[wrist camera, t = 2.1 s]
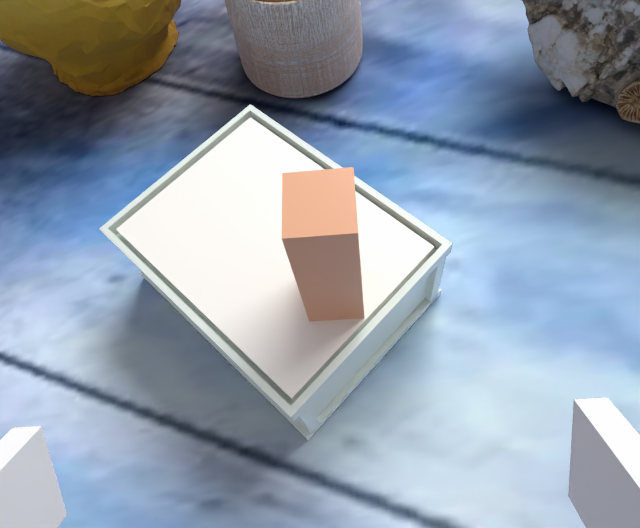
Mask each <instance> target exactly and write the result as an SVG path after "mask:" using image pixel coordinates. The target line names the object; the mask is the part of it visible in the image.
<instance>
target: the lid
mask: <svg viewBox="0 0 640 528" xmlns="http://www.w3.org/2000/svg"><path fill="white" fill-rule="evenodd" d="M116 230H117V231H118V232H119V233H120V235H121V236H122V237H123V238H124V239H125V240H126V241H128V242H129V243H130V244H131V245H132V246H133V247H134V248H135V249H136V250H137V251H138V252H139V253H140V254H141V255H142V256H143V257H144V258H145V259H146V260H147V261H148V262H149V263H150V264H151V265H152V266H153V267H154V268H155V269H156V270H158V271H159V272H160V273H161V274H162V275H163V276H164V277H165V278H166V279H167V280H168V281H169V282H170V283H171V284H172V285H173V286H174V287H175V288H176V289H177V290H178V291H179V292H180V293H181V294H182V295H183V296H184V297H185V298H187V299H188V300H189V301H190V302H191V303H192V304H193V305H194V306H195V307H196V308H197V309H198V310H199V311H200V312H201V313H202V314H203V315H204V316H205V317H206V318H207V319H208V320H209V321H210V322H211V323H212V324H213V325H214V326H216V327H217V328H218V329H219V330H220V331H221V332H222V333H223V334H224V335H225V336H226V337H227V338H228V339H229V340H230V341H231V342H232V343H233V344H234V345H235V346H236V347H237V348H238V349H239V350H240V351H241V352H242V353H243V354H245V355H246V356H247V357H248V358H249V359H250V360H251V361H252V362H253V363H254V364H255V365H256V366H257V367H258V368H259V369H260V370H261V371H262V372H263V373H264V374H265V375H266V376H267V377H268V378H269V379H270V380H271V381H272V382H274V383H275V384H276V385H277V386H278V387H279V388H280V389H281V390H282V391H283V392H284V393H285V394H286V395H287V396H288V397H289V398H290V399H291V400H292V401H293V402H294V401H295V400H296V399H297V398H298V397H299V396H300V395H301V394H302V393H303V392H304V391H305V390H306V389H307V388H308V386H309V385H310V384H311V383H312V382H313V381H314V380H315V379H316V378H317V377H318V376H319V375H320V374H321V373H322V372H323V370H324V369H325V368H326V367H327V366H328V365H329V364H330V363H331V362H332V361H333V360H334V359H335V358H336V357H337V356H338V354H339V353H340V352H341V351H342V350H343V349H344V348H345V347H346V346H347V345H348V344H349V343H350V342H351V341H352V339H353V338H354V337H355V336H356V335H357V334H358V333H359V332H360V331H361V330H362V329H363V328H364V327H365V326H366V325H367V323H368V322H369V321H370V320H371V319H372V318H373V317H374V316H375V315H376V314H377V313H378V312H379V311H380V310H381V309H382V307H383V306H384V305H385V304H386V303H387V302H388V301H389V300H390V299H391V298H392V297H393V296H394V295H395V294H396V292H397V291H398V290H399V289H400V288H401V287H402V286H403V285H404V284H405V283H406V282H407V281H408V280H409V279H410V278H411V276H412V275H413V274H414V273H415V272H416V271H417V270H418V269H419V268H420V267H421V266H422V265H423V264H424V263H425V262H426V260H427V259H428V258H429V257H430V256H431V255H432V254H433V252H434V246H433V245H432V244H430V243H429V242H427V241H426V240H424V239H423V238H422V237H420V236H419V235H417V234H416V233H414V232H413V231H412V230H410V229H409V228H407V227H406V226H405V225H403V224H402V223H400V222H399V221H397V220H396V219H395V218H393V217H392V216H390V215H389V214H387V213H386V212H385V211H383V210H382V209H380V208H379V207H378V206H376V205H375V204H373V203H372V202H370V201H369V200H368V199H366V198H365V197H363V196H362V195H360V194H359V193H358V192H356V191H355V181H354V168H353V167H348V168H336V169H323V168H322V167H321V166H319V165H318V164H316V163H315V162H314V161H312V160H311V159H309V158H308V157H306V156H305V155H304V154H302V153H301V152H299V151H298V150H296V149H295V148H294V147H292V146H291V145H289V144H288V143H287V142H285V141H284V140H282V139H281V138H279V137H278V136H277V135H275V134H274V133H272V132H271V131H269V130H268V129H267V128H265V127H264V126H262V125H261V124H259V123H258V122H257V121H255V120H254V119H252V118H251V117H250V118H249V119H248V120H246V121H245V122H244V123H243V124H242V125H240V126H239V127H238V128H237V129H236V130H234V131H233V132H232V133H231V134H230V135H228V136H227V137H226V138H225V139H224V140H222V141H221V142H220V143H219V144H218V145H216V146H215V147H214V148H213V149H212V150H210V151H209V152H208V153H207V154H206V155H204V156H203V157H202V158H201V159H200V160H198V161H197V162H196V163H195V164H194V165H192V166H191V167H190V168H189V169H188V170H186V171H185V172H184V173H183V174H182V175H180V176H179V177H178V178H177V179H176V180H174V181H173V182H172V183H171V184H170V185H168V186H167V187H166V188H165V189H164V190H162V191H161V192H160V193H159V194H158V195H156V196H155V197H154V198H153V199H152V200H150V201H149V202H148V203H147V204H146V205H144V206H143V207H142V208H141V209H140V210H138V211H137V212H136V213H135V214H134V215H132V216H131V217H130V218H129V219H128V220H126V221H125V222H124V223H123V224H122V225H120V226H119V227H118V228H117V229H116Z"/></svg>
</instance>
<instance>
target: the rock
mask: <svg viewBox="0 0 640 528" xmlns="http://www.w3.org/2000/svg"><path fill="white" fill-rule="evenodd" d="M522 1H523V3H524V5H525V7H526V16H527V18H528V21H529V27H528V34H529V39H530V42H531V44H532V48H533V53H534V59H535V62H536V64H537V66H538V67H539V68H540V69H541V70H542V72H543V73H544V74H545V75H546V76H547V78H548V79H549V80H550V82H551V84H552V86H553V87H554V88H556V89H557V90H558V91H560V90H561V89H562V88H564V87H567V88H568V90H569V92H570V94H571V95H572V97H574V96H579V98H580V100H581V101H582V102H587V101H588V100H590V99H591V98H592V99H595V100H598V101H600V102H603V103H605V104H608V105H611V106H613V107H615V108H617V111H618V113H619V115H620V117H621V119H623V120H626V121H630V122H634V123H639V124H640V0H522Z"/></svg>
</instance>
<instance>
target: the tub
mask: <svg viewBox="0 0 640 528" xmlns="http://www.w3.org/2000/svg"><path fill="white" fill-rule="evenodd" d="M250 117H251V118H252V119H254V120H255V121H257V122H258V123H259V124H261V125H262V126H264V127H265V128H267V129H268V130H269V131H271V132H272V133H274V134H275V135H277V136H278V137H279V138H281V139H282V140H284V141H285V142H287V143H288V144H289V145H291V146H292V147H294V148H295V149H296V150H298V151H299V152H301V153H302V154H304V155H305V156H306V157H308V158H309V159H311V160H312V161H314V162H315V163H316V164H318V165H319V166H321V167H322V168H323V169H336V168H342V167H341V166H339V165H338V164H336V163H335V162H334V161H332V160H331V159H329V158H328V157H326V156H325V155H323V154H322V153H320V152H319V151H318V150H316V149H315V148H313V147H312V146H310V145H309V144H307V143H306V142H304V141H303V140H302V139H300V138H299V137H297V136H296V135H294V134H293V133H291V132H290V131H289V130H287V129H286V128H284V127H283V126H281V125H280V124H278V123H277V122H275V121H274V120H273V119H271V118H270V117H268V116H267V115H265V114H264V113H262V112H261V111H260V110H258V109H257V108H255V107H254V106H252V105H251V104H250V105H249V106H247V107H246V108H245V109H244V110H243V111H241V112H240V113H239V114H238V115H237V116H235V117H234V118H233V119H232V120H230V121H229V122H228V123H227V124H226V125H224V126H223V127H222V128H221V129H220V130H218V131H217V132H216V133H215V134H213V135H212V136H211V137H210V138H209V139H207V140H206V141H205V142H204V143H203V144H201V145H200V146H199V147H198V148H197V149H195V150H194V151H193V152H192V153H190V154H189V155H188V156H187V157H186V158H184V159H183V160H182V161H181V162H180V163H178V164H177V165H176V166H175V167H173V168H172V169H171V170H170V171H169V172H167V173H166V174H165V175H164V176H163V177H161V178H160V179H159V180H158V181H156V182H155V183H154V184H153V185H152V186H150V187H149V188H148V189H147V190H146V191H144V192H143V193H142V194H141V195H139V196H138V197H137V198H136V199H135V200H133V201H132V202H131V203H130V204H129V205H127V206H126V207H125V208H124V209H123V210H121V211H120V212H119V213H118V214H116V215H115V216H114V217H113V218H112V219H110V220H109V221H108V222H107V223H106V224H104V225H103V226H102V227H101V228H99V229H100V230H101V231H102V232H103V234H104V235H105V236H106V237H107V238H108V239H109V240H110V241H111V242H112V243H113V244H114V245H115V246H116V247H117V248H118V249H119V250H120V251H121V252H122V253H123V254H124V255H125V256H126V257H127V258H128V259H129V260H131V261H132V262H133V263H134V264H135V265H136V266H137V267H138V268H139V269H140V270H141V272H140V274H141V275H142V276H143V277H144V278H145V279H146V280H147V281H148V282H149V283H150V284H151V285H152V286H153V287H154V288H155V289H156V290H157V291H158V292H159V293H160V294H161V295H162V296H163V297H164V298H165V299H166V300H167V301H168V302H169V303H170V304H171V305H172V306H173V307H174V308H175V309H176V310H177V311H178V312H179V313H180V314H181V315H182V316H183V317H184V318H185V319H186V320H187V321H188V322H189V323H190V324H191V325H192V326H193V327H194V328H195V329H196V330H197V331H198V332H199V333H200V334H201V335H202V336H203V337H204V338H205V339H206V340H207V341H208V342H209V343H210V344H211V345H212V346H213V347H214V348H215V349H216V350H217V351H218V352H219V353H220V354H221V355H222V356H223V357H224V358H225V359H226V360H227V361H228V362H229V363H230V364H231V365H232V366H233V367H234V368H235V369H236V370H237V371H238V372H240V373H241V374H242V375H243V376H244V377H245V378H246V379H247V380H248V381H249V382H250V383H251V384H252V385H253V386H254V387H255V388H256V389H257V390H258V391H259V392H260V393H261V394H262V395H263V396H264V397H265V398H266V399H267V400H268V401H269V402H270V403H271V404H272V405H273V406H274V407H275V408H276V409H277V410H278V411H279V412H280V413H281V414H282V415H283V416H284V417H285V418H286V419H287V420H288V421H289V422H290V423H291V424H292V425H293V426H294V427H295V428H296V429H297V430H298V431H299V432H300V433H301V434H302V435H303V436H304V437H305V438H306V439H307V440H309V439H310V438H311V437H312V436H313V435H314V434H315V432H316V431H317V430H318V429H319V428H320V427H321V426H322V425H323V424H324V423H325V421H326V420H327V419H328V418H329V417H330V416H331V415H332V414H333V413H334V411H335V410H336V409H337V408H338V407H339V406H340V405H341V404H342V403H343V401H344V400H345V399H346V398H347V397H348V396H349V395H350V394H351V393H352V392H353V390H354V389H355V388H356V387H357V386H358V385H359V384H360V383H361V382H362V380H363V379H364V378H365V377H366V376H367V375H368V374H369V373H370V372H371V370H372V369H373V368H374V367H375V366H376V365H377V364H378V363H379V362H380V360H381V359H382V358H383V357H384V356H385V355H386V354H387V353H388V352H389V351H390V349H391V348H392V347H393V346H394V345H395V344H396V343H397V342H398V341H399V339H400V338H401V337H402V336H403V335H404V334H405V333H406V332H407V331H408V329H409V328H410V327H411V326H412V325H413V324H414V323H415V322H416V321H417V319H418V318H419V317H420V316H421V315H422V314H423V313H424V312H425V311H426V310H427V308H428V307H429V306H430V305H431V304H432V303H433V302H434V301H435V300H436V298H437V297H438V296H439V295H440V294H441V290H442V289H441V288H439V286H440V282H441V277H442V273H443V269H444V264H445V260H446V256H447V255H448V254H449V253H450V252H451V248H452V243H451V242H450V241H448V240H447V239H445V238H444V237H442V236H441V235H439V234H438V233H437V232H435V231H434V230H432V229H431V228H429V227H428V226H426V225H425V224H423V223H422V222H421V221H419V220H418V219H416V218H415V217H413V216H412V215H410V214H409V213H408V212H406V211H405V210H403V209H402V208H400V207H399V206H397V205H396V204H394V203H393V202H392V201H390V200H389V199H387V198H386V197H384V196H383V195H381V194H380V193H378V192H377V191H376V190H374V189H373V188H371V187H370V186H368V185H367V184H365V183H364V182H363V181H361V180H360V179H358V178H357V177H355V176H354V181H355V191H356V192H358V193H359V194H360V195H362V196H363V197H365V198H366V199H368V200H369V201H370V202H372V203H373V204H375V205H376V206H378V207H379V208H380V209H382V210H383V211H385V212H386V213H387V214H389V215H390V216H392V217H393V218H395V219H396V220H397V221H399V222H400V223H402V224H403V225H405V226H406V227H407V228H409V229H410V230H412V231H413V232H414V233H416V234H417V235H419V236H420V237H422V238H423V239H424V240H426V241H427V242H429V243H430V244H432V245H433V246H434V252H433V254H432V255H431V256H430V257H429V258H428V259H427V260H426V262H425V263H424V264H423V265H422V266H421V267H420V268H419V269H418V270H417V271H416V272H415V273H414V274H413V275H412V276H411V278H410V279H409V280H408V281H407V282H406V283H405V284H404V285H403V286H402V287H401V288H400V289H399V290H398V291H397V292H396V294H395V295H394V296H393V297H392V298H391V299H390V300H389V301H388V302H387V303H386V304H385V305H384V306H383V307H382V309H381V310H380V311H379V312H378V313H377V314H376V315H375V316H374V317H373V318H372V319H371V320H370V321H369V322H368V323H367V325H366V326H365V327H364V328H363V329H362V330H361V331H360V332H359V333H358V334H357V335H356V336H355V337H354V338H353V339H352V341H351V342H350V343H349V344H348V345H347V346H346V347H345V348H344V349H343V350H342V351H341V352H340V353H339V354H338V356H337V357H336V358H335V359H334V360H333V361H332V362H331V363H330V364H329V365H328V366H327V367H326V368H325V369H324V370H323V372H322V373H321V374H320V375H319V376H318V377H317V378H316V379H315V380H314V381H313V382H312V383H311V384H310V385H309V386H308V388H307V389H306V390H305V391H304V392H303V393H302V394H301V395H300V396H299V397H298V398H297V399H296V400H295V401H294V402H293V401H292V400H291V399H290V398H289V397H288V396H287V395H286V394H285V393H284V392H283V391H282V390H281V389H280V388H279V387H278V386H277V385H276V384H275V383H274V382H272V381H271V380H270V379H269V378H268V377H267V376H266V375H265V374H264V373H263V372H262V371H261V370H260V369H259V368H258V367H257V366H256V365H255V364H254V363H253V362H252V361H251V360H250V359H249V358H248V357H247V356H246V355H245V354H243V353H242V352H241V351H240V350H239V349H238V348H237V347H236V346H235V345H234V344H233V343H232V342H231V341H230V340H229V339H228V338H227V337H226V336H225V335H224V334H223V333H222V332H221V331H220V330H219V329H218V328H217V327H216V326H214V325H213V324H212V323H211V322H210V321H209V320H208V319H207V318H206V317H205V316H204V315H203V314H202V313H201V312H200V311H199V310H198V309H197V308H196V307H195V306H194V305H193V304H192V303H191V302H190V301H189V300H188V299H187V298H185V297H184V296H183V295H182V294H181V293H180V292H179V291H178V290H177V289H176V288H175V287H174V286H173V285H172V284H171V283H170V282H169V281H168V280H167V279H166V278H165V277H164V276H163V275H162V274H161V273H160V272H159V271H158V270H156V269H155V268H154V267H153V266H152V265H151V264H150V263H149V262H148V261H147V260H146V259H145V258H144V257H143V256H142V255H141V254H140V253H139V252H138V251H137V250H136V249H135V248H134V247H133V246H132V245H131V244H130V243H129V242H128V241H126V240H125V239H124V238H123V237H122V236H121V235H120V233H119V232H118V231H117V230H116V229H117V228H118V227H119V226H120V225H122V224H123V223H124V222H125V221H126V220H128V219H129V218H130V217H131V216H132V215H134V214H135V213H136V212H137V211H138V210H140V209H141V208H142V207H143V206H144V205H146V204H147V203H148V202H149V201H150V200H152V199H153V198H154V197H155V196H156V195H158V194H159V193H160V192H161V191H162V190H164V189H165V188H166V187H167V186H168V185H170V184H171V183H172V182H173V181H174V180H176V179H177V178H178V177H179V176H180V175H182V174H183V173H184V172H185V171H186V170H188V169H189V168H190V167H191V166H192V165H194V164H195V163H196V162H197V161H198V160H200V159H201V158H202V157H203V156H204V155H206V154H207V153H208V152H209V151H210V150H212V149H213V148H214V147H215V146H216V145H218V144H219V143H220V142H221V141H222V140H224V139H225V138H226V137H227V136H228V135H230V134H231V133H232V132H233V131H234V130H236V129H237V128H238V127H239V126H240V125H242V124H243V123H244V122H245V121H246V120H248V119H249V118H250Z"/></svg>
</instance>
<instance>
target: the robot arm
mask: <svg viewBox="0 0 640 528" xmlns="http://www.w3.org/2000/svg"><path fill="white" fill-rule="evenodd" d="M568 496H569V498H570V500H571V501H572V503H573V505H574V507H575V509H576V511H577V512H578V514H579V516H580V518H581V520H582V521H583V523H584V525H585V527H586V528H640V435H639V434H638V432H637V431H636V430H635V429H634V428H633V427H632V426H631V424H630V423H629V422H628V421H627V420H626V419H625V417H624V416H623V415H622V414H621V413H620V412H619V410H618V409H617V408H616V407H615V406H614V405H613V403H612V402H611V401H610V400H609V399H608V398H593V399H574V407H573V424H572V441H571V458H570V476H569V493H568ZM66 515H67V513H66V509H65V506H64V502H63V499H62V495H61V492H60V488H59V485H58V481H57V478H56V474H55V471H54V467H53V464H52V460H51V457H50V453H49V450H48V446H47V443H46V439H45V436H44V432H43V429H42V426H35V427H15V428H12V429H11V430H10V431H9V432H8V433H7V434H6V435H5V436H4V437H3V438H2V439H1V440H0V528H58V527H59V525H60V524H61V522H62V521H63V519H64V518H65V516H66Z"/></svg>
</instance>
